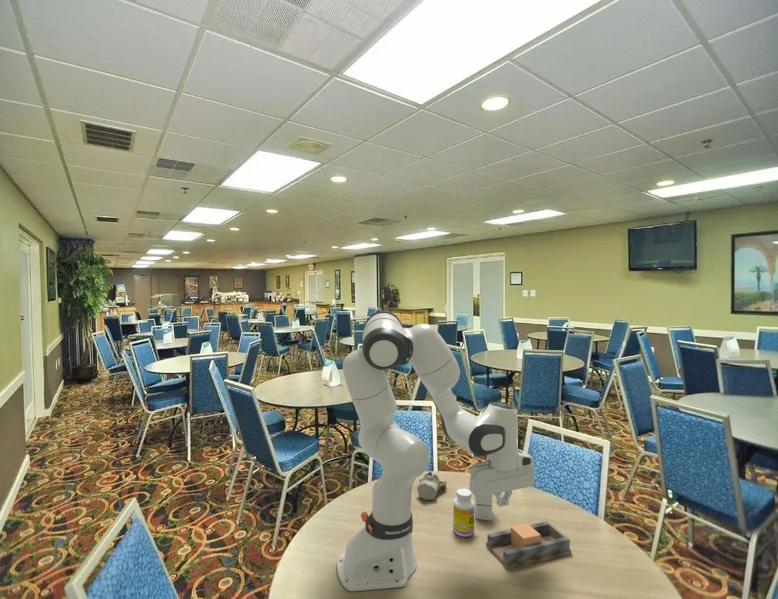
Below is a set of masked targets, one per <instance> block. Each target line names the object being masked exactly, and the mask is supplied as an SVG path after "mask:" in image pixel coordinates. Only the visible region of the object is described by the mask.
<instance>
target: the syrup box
mask: <svg viewBox="0 0 778 599" xmlns="http://www.w3.org/2000/svg"><path fill="white" fill-rule="evenodd" d="M474 519H477V520H484V521H493V494H492V495H487V496H482V497H476V496H475V495H474Z"/></svg>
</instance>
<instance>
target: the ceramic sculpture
mask: <svg viewBox="0 0 778 599" xmlns="http://www.w3.org/2000/svg"><path fill="white" fill-rule="evenodd" d="M418 481H419V484H418V486H417V487H416V488H417V494H418V495H419V497H420V498H421V499H423V500H425V501H432V500H434V499H435V498H436V497H437V493H438V492H439V491H443V490H444V489H445V488H446V487H447V481H446V480H445V481H441V480H440V478H439V476H438V475H437V474H436V473H433V472H431V471H429V472H427V473H425V474H424V476H423V477H422V478H421V479H420V478H419V479H418Z"/></svg>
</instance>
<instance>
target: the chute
mask: <svg viewBox="0 0 778 599" xmlns="http://www.w3.org/2000/svg"><path fill="white" fill-rule="evenodd" d="M529 525H530V526H531V527H532V528H533V529H535V530H536V531H537V532H538V533H539V534H540V535H541V542H540V543H536V544H532V545H528V546H523V547H519V548H515V547H514V546H513V545H512V544H511V528H510V529H506V530H500V531H497V532H492V533H487V538H486V539H487V542H486V543H485V547H487V548H488V550H489V551H490V552H491V553H492V554H493V556H494V557H495V558H496V559H497V560H498V561H499V562H500V564H501V565H502V566H503V567H504V568H505V569H506V570H507V571H510V570H515V569H519V568H523V567H527V566H531V565H535V564H539V563H542V562H543V563H544V562H547V561H550V560H551V561H552V560H555V559H558V558H559V559H560V558H562V557H567V556H570V555H572V550H571V547H570V546H571V545H570V544H571V543H570V541H571V539H570V538H568V536H566V535H565V534H564V533H562V532H561V531H559V529H558V528H556V527H555V526H554V525H553V524H551V523H550V522H549V521H547V520H545V521H542V522H537V523H532V524H529Z"/></svg>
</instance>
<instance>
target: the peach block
mask: <svg viewBox="0 0 778 599" xmlns="http://www.w3.org/2000/svg"><path fill="white" fill-rule="evenodd" d="M530 525H531V524H529V523H528V522H525V523H523V524H519V525H512V526H510V529H511V544H512V545H513V546H514V547H515V548H519V547H523V546H528V545H532V544H536V543H540V542H541V535H540V534H539V533H538V532H537V531H536V530H535V529H533V528H532V527H531V526H530Z"/></svg>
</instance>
